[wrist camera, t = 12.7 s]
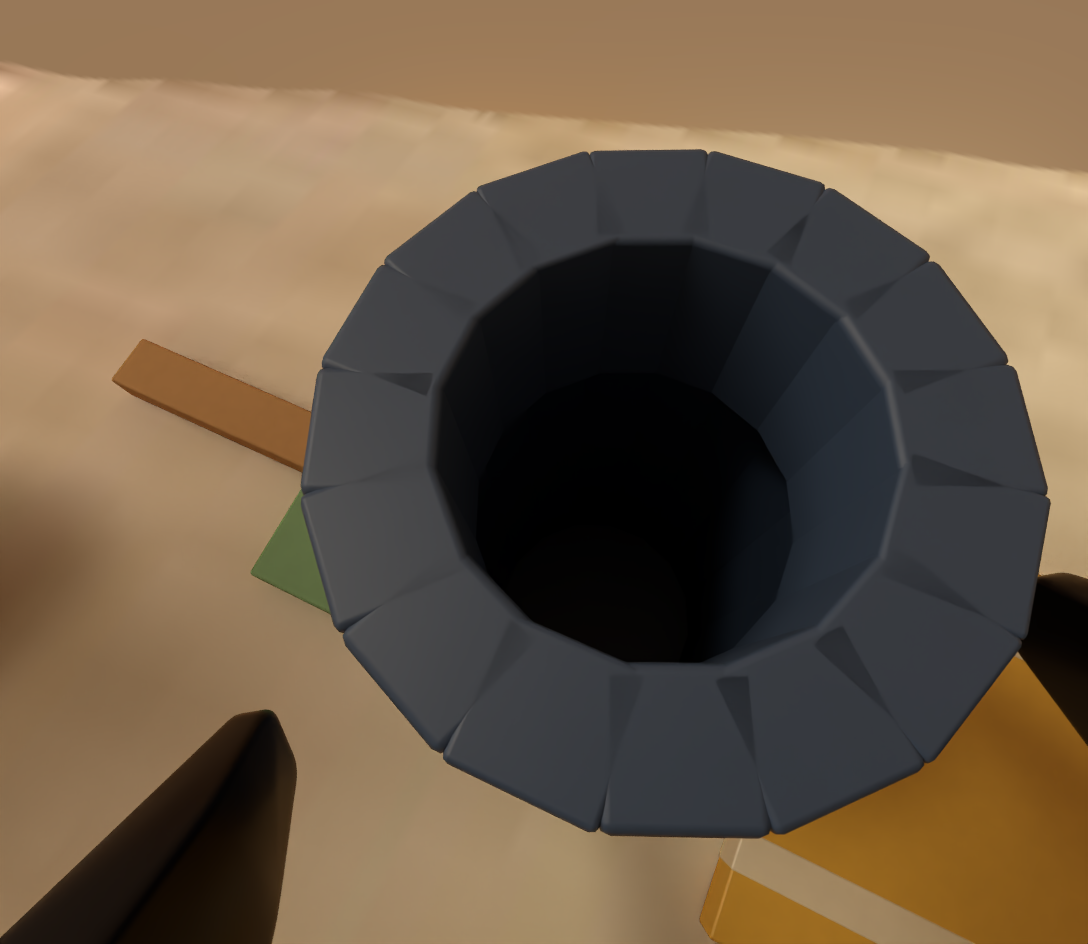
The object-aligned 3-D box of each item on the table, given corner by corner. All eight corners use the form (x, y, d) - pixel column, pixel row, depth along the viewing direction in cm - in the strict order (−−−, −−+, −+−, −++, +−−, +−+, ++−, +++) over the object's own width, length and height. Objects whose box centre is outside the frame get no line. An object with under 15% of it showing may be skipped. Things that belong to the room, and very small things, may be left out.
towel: (1104, 620, 17) (1144, 614, 16) (1023, 1093, 14) (1066, 1130, 12) (830, 509, 18) (848, 497, 17) (697, 920, 15) (708, 939, 14)
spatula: (515, 398, 20) (512, 384, 19) (388, 641, 17) (378, 638, 16) (217, 277, 21) (201, 258, 20) (65, 481, 19) (39, 470, 18)
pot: (743, 620, 17) (1195, 426, 5) (594, 785, 16) (701, 1077, 4) (590, 477, 19) (643, 54, 6) (442, 617, 17) (159, 425, 5)
